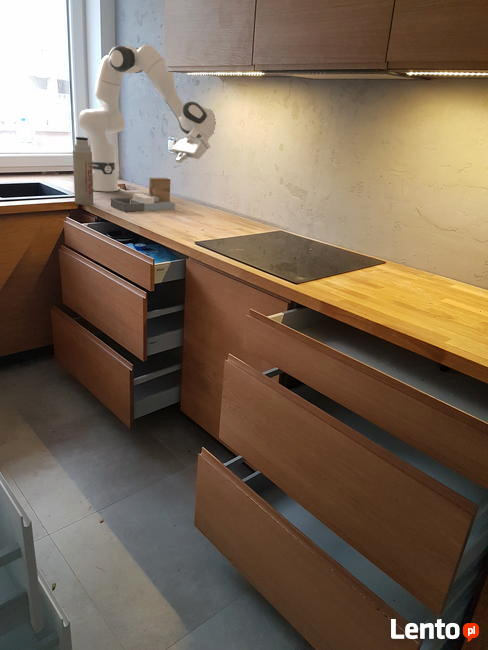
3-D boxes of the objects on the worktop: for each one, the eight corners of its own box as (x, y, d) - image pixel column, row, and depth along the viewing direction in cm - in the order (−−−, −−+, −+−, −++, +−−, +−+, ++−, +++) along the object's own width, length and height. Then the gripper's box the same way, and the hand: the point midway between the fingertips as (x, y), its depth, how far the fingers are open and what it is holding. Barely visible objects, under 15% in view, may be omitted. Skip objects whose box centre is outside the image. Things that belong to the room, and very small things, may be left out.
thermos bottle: (97, 203, 224) (95, 138, 213) (82, 205, 218) (79, 137, 207) (86, 200, 228) (84, 136, 217) (71, 202, 222) (68, 135, 211)
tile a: (132, 199, 226) (132, 193, 225) (142, 199, 229) (142, 193, 228) (138, 201, 222) (138, 195, 221) (147, 201, 226) (148, 195, 225)
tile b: (138, 201, 222) (138, 196, 221) (148, 201, 225) (148, 195, 224) (144, 203, 219) (144, 198, 218) (154, 203, 222) (154, 197, 221)
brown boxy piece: (143, 198, 230) (143, 176, 226) (160, 198, 236) (160, 176, 232) (156, 203, 222) (157, 180, 218) (173, 202, 227) (174, 180, 224)
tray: (110, 206, 222) (110, 198, 220) (129, 205, 228) (129, 197, 226) (124, 212, 213) (124, 204, 211) (144, 211, 218) (144, 203, 217)
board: (130, 205, 227) (130, 199, 226) (160, 204, 237) (161, 198, 236) (143, 210, 219) (144, 204, 218) (174, 209, 229) (174, 202, 228)
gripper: (180, 132, 235) (162, 153, 233) (205, 136, 221) (186, 158, 219) (187, 143, 240) (169, 163, 238) (212, 147, 226) (194, 169, 224)
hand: (177, 161), depth 228 cm, fingers closed
